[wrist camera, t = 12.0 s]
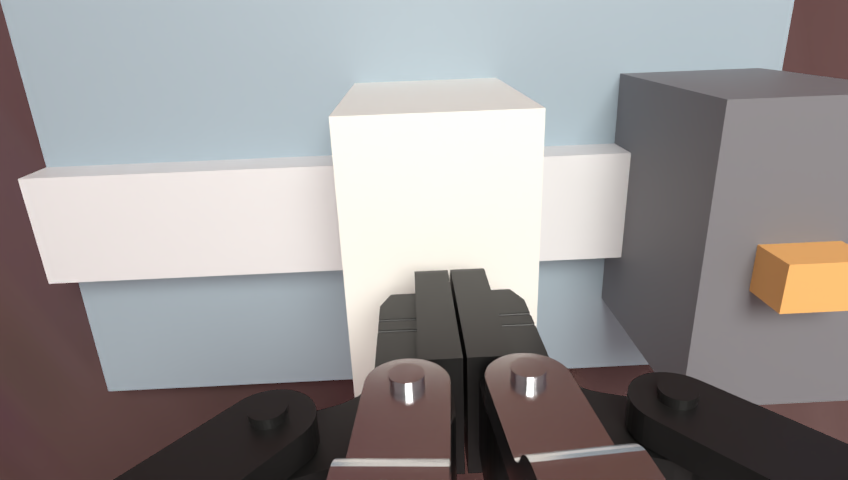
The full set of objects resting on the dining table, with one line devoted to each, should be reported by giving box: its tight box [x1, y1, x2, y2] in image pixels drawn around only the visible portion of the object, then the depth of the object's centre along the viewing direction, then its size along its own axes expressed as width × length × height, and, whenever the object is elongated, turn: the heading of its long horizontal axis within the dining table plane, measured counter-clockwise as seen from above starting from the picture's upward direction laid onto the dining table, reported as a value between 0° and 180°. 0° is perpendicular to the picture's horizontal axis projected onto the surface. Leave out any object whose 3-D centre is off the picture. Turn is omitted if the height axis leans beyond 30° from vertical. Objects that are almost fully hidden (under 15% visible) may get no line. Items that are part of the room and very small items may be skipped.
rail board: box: [0, 0, 848, 405], centre depth 17 cm, size 14×24×9 cm, turn 92°
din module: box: [329, 78, 546, 398], centre depth 16 cm, size 8×4×7 cm, turn 2°
